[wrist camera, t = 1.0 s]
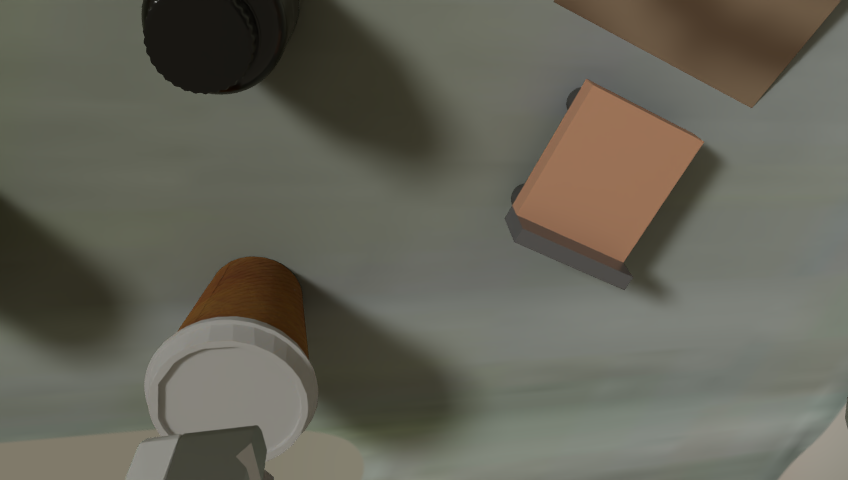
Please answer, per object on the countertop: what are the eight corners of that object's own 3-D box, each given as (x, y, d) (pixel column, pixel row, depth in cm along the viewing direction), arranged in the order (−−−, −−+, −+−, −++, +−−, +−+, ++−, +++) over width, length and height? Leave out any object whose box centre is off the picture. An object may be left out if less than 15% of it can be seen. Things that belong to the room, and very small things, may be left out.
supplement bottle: (201, -88, 42) (145, -74, 31) (318, -33, 43) (303, -2, 33) (163, 29, 44) (100, 79, 34) (275, 77, 46) (249, 139, 35)
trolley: (577, 70, 47) (603, 94, 42) (682, 124, 49) (717, 152, 44) (499, 206, 51) (514, 242, 46) (599, 251, 53) (624, 290, 48)
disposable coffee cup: (234, 207, 49) (198, 300, 39) (353, 283, 52) (351, 390, 42) (158, 310, 52) (105, 424, 41) (275, 376, 55) (254, 499, 44)
